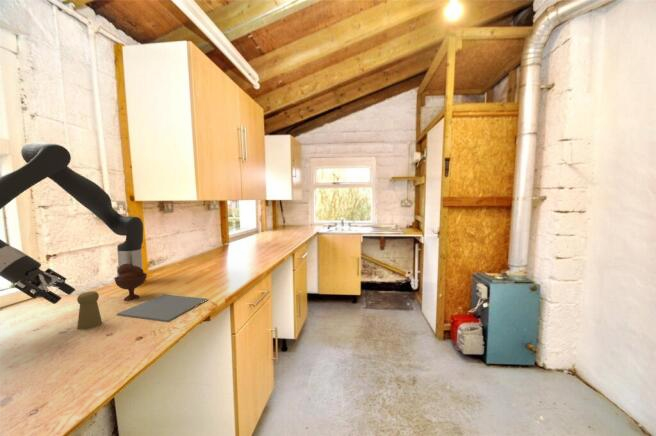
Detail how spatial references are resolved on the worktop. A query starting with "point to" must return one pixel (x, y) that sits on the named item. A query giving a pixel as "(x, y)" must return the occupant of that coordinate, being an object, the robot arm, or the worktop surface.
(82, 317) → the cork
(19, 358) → the worktop surface
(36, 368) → the worktop surface
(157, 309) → the charcoal mat
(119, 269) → the ice cream bowl
